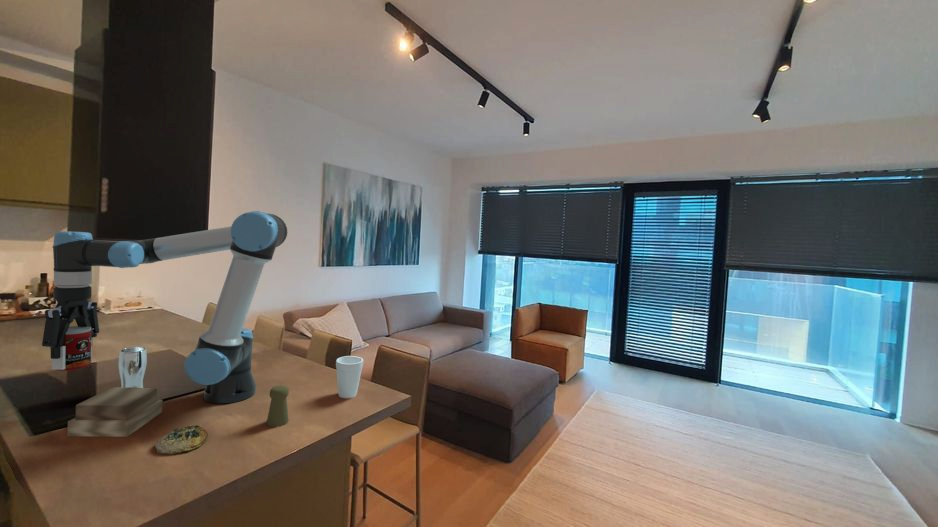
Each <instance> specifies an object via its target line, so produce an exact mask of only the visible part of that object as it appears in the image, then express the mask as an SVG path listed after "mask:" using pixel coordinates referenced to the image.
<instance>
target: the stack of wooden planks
mask: <svg viewBox="0 0 938 527" xmlns="http://www.w3.org/2000/svg"><path fill="white" fill-rule="evenodd" d="M157 398H158V388H157V387H143V388H127V387H121V386H112V387H110V388H107V389H106V390H104V391H101V392H100V393H98V394H96V395H94V396H92V397H89V398H88V399H86V400H84V401H81V402H79V403H77V404H76V405H75V417H73V418H71V419H69V420H68V421H67V437H108V438H109V437H110V438H111V437H112V438H113V437H114V438H115V437H116V438H117V437H121V438H123V437H126V438H128V437H129V436H131V435H132V434H133V433H135V432H136V431H138V430H140V428H142V427H143V426H144V425H146V424H148V423H149V422H151V421H152V420H153V419H155V418H157V417H158V416H159V415H161V414H162V413H163V403H164V402H163V399H157Z"/></svg>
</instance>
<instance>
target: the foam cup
mask: <svg viewBox="0 0 938 527" xmlns="http://www.w3.org/2000/svg"><path fill="white" fill-rule="evenodd" d="M363 367H364V359H363V357H360V356H355V355H345V356H341V357H338V358H336V361H335V369H336V379H337V389H338V390H337V392H338V397H339V398H342V399H352V398H355V397H356V396H357V394H358V389H359V385H360V379H361V376H362V375H361V374H362V369H363Z"/></svg>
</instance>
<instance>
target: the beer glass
mask: <svg viewBox="0 0 938 527" xmlns="http://www.w3.org/2000/svg"><path fill="white" fill-rule="evenodd" d="M147 362H148V356H147V347H146V346H131V347H126V348H125V347H124V348H122V349H120V350H119V357H118V372H119V376H120V377H119V378H120V383H121V386H120V387H127V388H144V377H145V374H146V369H147Z"/></svg>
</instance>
